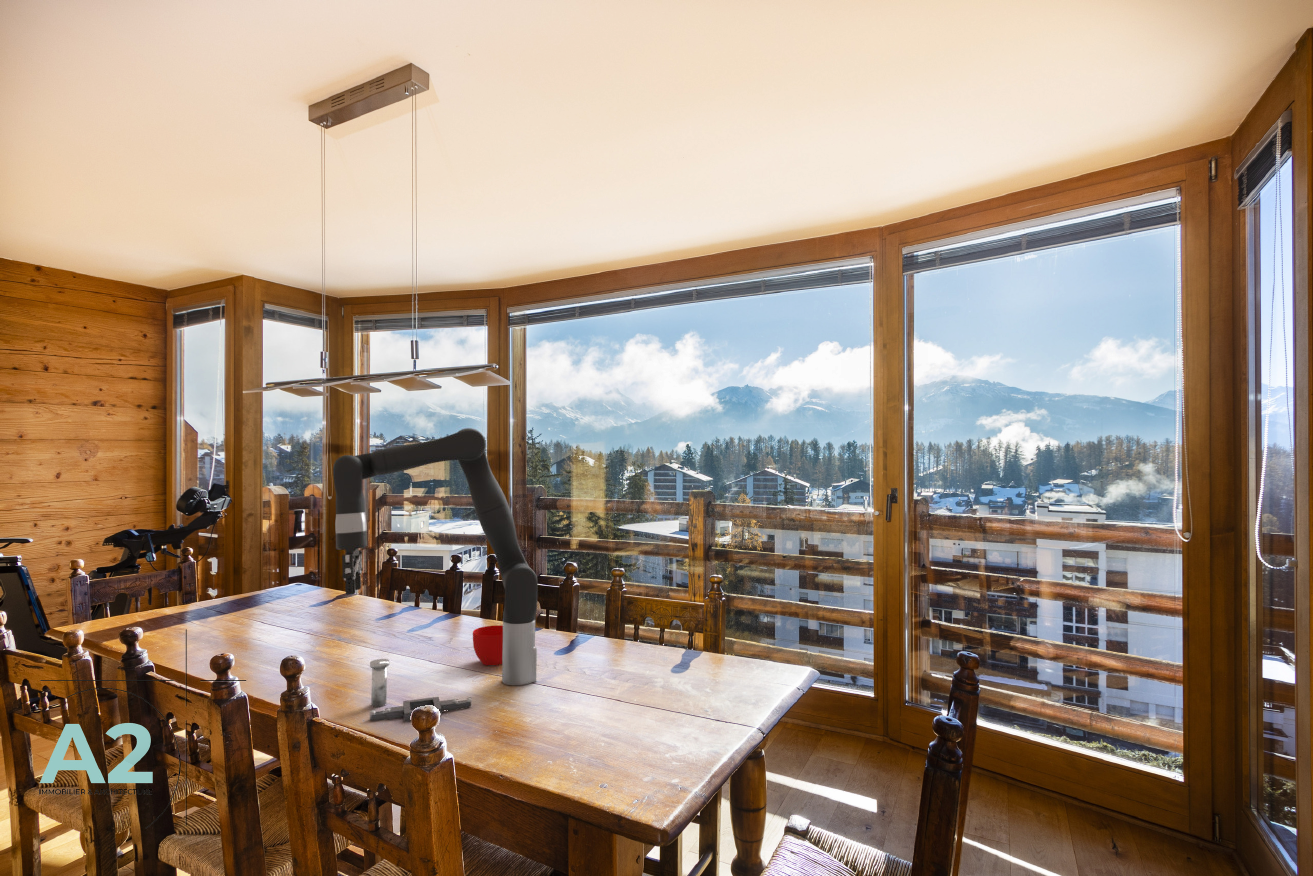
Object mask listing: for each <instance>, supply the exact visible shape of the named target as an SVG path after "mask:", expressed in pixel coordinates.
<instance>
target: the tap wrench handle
mask: <svg viewBox="0 0 1313 876" xmlns="http://www.w3.org/2000/svg"><path fill="white" fill-rule="evenodd" d="M425 705H433V706H435V707H436V708H437V709H439V711H440V713H441V714H442V713H443V712H442V711H444V710H446V711H447V710H448V711H447V712H451V711H450V710H455V711H457V710H462V709H461V708H464V709H470V708H471V707H472V697H469V696H468V697H466V699H463V700H459V699H457V698H454V699H447V700H445V699H444V700H440V697H439V696H435V697H434V696H433V697H426V698H417V699H411V700H410V699H409V700H403V701H402V705H401V706H399V705H397V706H393V707H391V706H390V707H386V708H384V710H380V711H376V710H375V709H371V710H369V721H371V722H375V721H383V720H396V719H403V722H404V723H405V722H411V721H410V716H411V713H412V711H413V710H414V709H415V708H417V707H420V706H425ZM469 707H470V708H469ZM456 709H457V710H456ZM403 715H404V716H403Z"/></svg>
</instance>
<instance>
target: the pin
mask: <svg viewBox="0 0 1313 876" xmlns="http://www.w3.org/2000/svg"><path fill="white" fill-rule="evenodd" d="M388 666H390V659H388V658H378V659H373V660H371V661H370V662H369V668H371V694H370V695H371V698H370V701H371V702H370V706H371V707H372V706H373V707H372V708H380V707H379V706H381V707H384V706H386V705H387V688H388ZM385 704H386V705H385ZM383 705H384V706H383Z"/></svg>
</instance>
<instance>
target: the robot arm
mask: <svg viewBox="0 0 1313 876" xmlns="http://www.w3.org/2000/svg"><path fill="white" fill-rule="evenodd" d="M486 447H487V442H486V438H485V436H484V435H483V433H482V432H480V431H479V430H478V429H475V428H471V427H467V428H462V429H460V430H458V431H457V432H455V433H452V434H449V435H446V436H444V437H441V438H436V439H432V440H427V441H422V442H414V443H408V444H401V445H400V444H399V445H395V446H389V447H386V448H380V449H377V450H374V451H372V452H369V453H368V452H367V453H363V454H358V455H350V454H344V455H342V456H340V457H338V458H337V459H336V460H335V461H334V464H333V467H332V476H333V485H334V490H335V491H334V492H335V523H334V525H335V549H336V550H339V551H344V554H342V556H341V560H342V561H341V562H342V564H341V565H342V566H341V567H342V568H341V569H342V576H341V577H342V579H343V580H344V584H345V588H344V589H345V594H346V596H351V595H354V594H355V593H356V591H358V590H361V589H362V572H363V571H364V568H363V555H362V554H363V551H362V549H364V548H367V547H368V527H367V525H368V524H367V516H366V503H365V502H366V501H365V494H364V491H363V480H365V479H369V478H373V477H376V476H384V475H388V474H389V475H390V474H395V473H399V472H404V471H408V470H412V469H415V468H420V467H424V466H426V465H431V464H435V463H442V462H447V461H458V464H459V465H460V468H461V469H462V472H463V474H464V476H465V478H466V481H467V485H468V489H469V493H470V497H471V501H472V504H473V508H474V510H475V511H474V512H475V513H476V516H477V519H478V521H479V524H480V526H481V529H482V531H483V533H484V535H485V537H486V539H487V542H488V543H489V545H490V547H491V548H492V550H493V552H494V555H495V559H496V561H497V565H498V568H499V574H500V577H501V580H502V581H501V582H502V585H503V588H504V607H503V608H504V609H503V612H502V626H503V649H502V664H501V665H502V667H501V671H502V672H501V683H503V684H504V685H508V686H524V685H528V684H531V683H533V682H534V683H535V682H537V664H538V662H537V661H538V659H537V658H538V657H537V654H538V651H537V650H538V648H537V647H536V613H537V610H538V592H539V591H538V586H539V585H538V576H537V574H536V572H535V571H534V570H533V569H532V568H531V567H530V566H529V564H528V562H527V560H526V558H525V556H524V554H523V552H522V550H521V547H520V545H519V541H518V536H517V530H516V525H515V521H514V517H513V514H512V513H513V512H512V510H511V507H510V506H509V503H508V501H507V498H506V495H505V493H504V492H503V490H502V487H501V486H500V484H499V483H498V481H497V479H496V477H495V475H494V474H493V472H492V469H491V467H490V463H489V461H488V457H487V452H486Z"/></svg>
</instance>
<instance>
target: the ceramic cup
mask: <svg viewBox="0 0 1313 876" xmlns="http://www.w3.org/2000/svg"><path fill="white" fill-rule="evenodd" d="M472 645H473V646H472V647H473V650H474V652H475V655H476V657H477V659H478V660H479V661H480V662H481V663H482V664H483V665H484V666H488V665H495V666H499V664H500V665H502V649H503V624H502V625H500V624H499V625H486V626H482V627H478V628H475V629H474V630H473V631H472Z"/></svg>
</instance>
